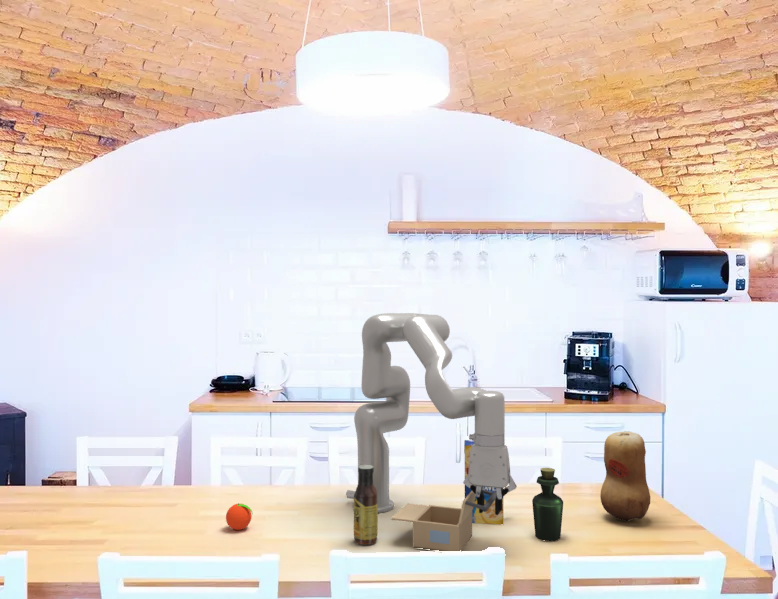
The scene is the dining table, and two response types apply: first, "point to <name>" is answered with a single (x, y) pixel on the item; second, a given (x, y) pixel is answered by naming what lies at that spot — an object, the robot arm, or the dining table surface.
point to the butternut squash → (625, 477)
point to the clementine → (238, 516)
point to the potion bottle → (547, 508)
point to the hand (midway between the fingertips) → (489, 511)
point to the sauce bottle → (365, 507)
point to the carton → (436, 526)
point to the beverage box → (489, 515)
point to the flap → (469, 504)
